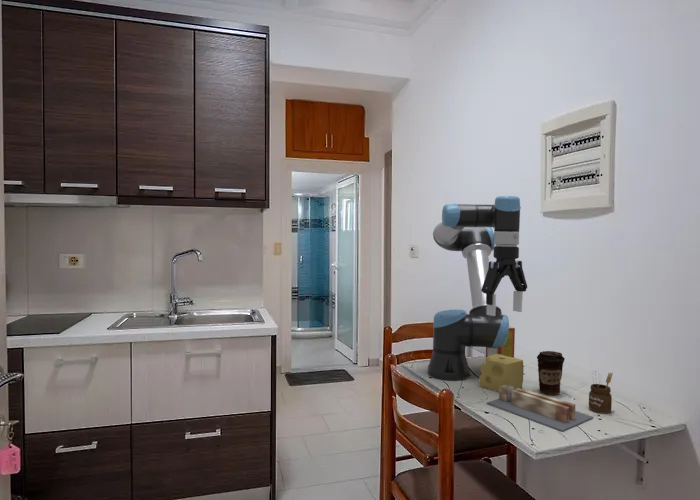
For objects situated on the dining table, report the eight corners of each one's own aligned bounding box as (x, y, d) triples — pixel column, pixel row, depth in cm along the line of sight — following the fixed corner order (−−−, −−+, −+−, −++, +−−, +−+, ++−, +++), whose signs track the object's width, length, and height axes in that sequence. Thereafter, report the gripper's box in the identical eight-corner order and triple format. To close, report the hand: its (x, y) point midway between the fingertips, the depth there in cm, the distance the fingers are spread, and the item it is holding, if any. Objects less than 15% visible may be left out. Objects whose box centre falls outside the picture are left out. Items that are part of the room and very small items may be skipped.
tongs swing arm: (515, 402, 139) (515, 389, 139) (518, 401, 140) (518, 388, 140) (572, 419, 126) (572, 405, 126) (575, 418, 127) (575, 404, 127)
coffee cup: (567, 398, 145) (568, 357, 144) (539, 395, 146) (540, 355, 146) (560, 389, 153) (561, 350, 153) (533, 387, 155) (534, 349, 154)
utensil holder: (598, 405, 139) (599, 366, 138) (617, 412, 133) (618, 371, 133) (583, 407, 137) (584, 367, 136) (601, 415, 131) (603, 373, 130)
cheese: (478, 386, 155) (479, 357, 155) (497, 380, 162) (498, 352, 161) (505, 395, 147) (506, 364, 147) (524, 388, 153) (525, 359, 153)
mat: (486, 403, 139) (486, 402, 139) (518, 393, 148) (518, 392, 148) (562, 431, 119) (562, 430, 119) (593, 418, 129) (593, 416, 128)
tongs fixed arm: (498, 399, 141) (498, 385, 141) (505, 397, 143) (505, 383, 143) (565, 423, 124) (566, 407, 124) (572, 420, 126) (573, 404, 126)
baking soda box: (513, 368, 177) (514, 327, 177) (498, 369, 176) (499, 327, 175) (499, 361, 186) (500, 322, 186) (485, 362, 185) (486, 323, 184)
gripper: (491, 246, 133) (489, 319, 134) (539, 245, 147) (538, 311, 148) (470, 245, 139) (468, 315, 140) (519, 245, 154) (517, 308, 154)
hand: (504, 313), depth 144 cm, fingers open, 13 cm apart
